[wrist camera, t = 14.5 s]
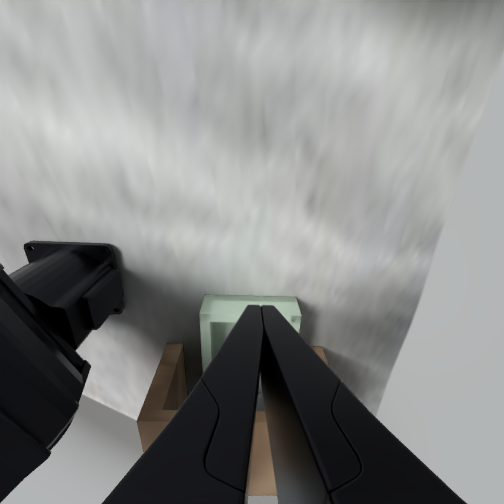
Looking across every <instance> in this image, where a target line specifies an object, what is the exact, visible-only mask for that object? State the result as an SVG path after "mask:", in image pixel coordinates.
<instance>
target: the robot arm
mask: <svg viewBox="0 0 504 504" xmlns="http://www.w3.org/2000/svg"><path fill="white" fill-rule="evenodd" d="M31 246H32V247H33V248H34V249H33V248H32V247H31ZM104 249H106V250H107V251H108V252H105V251H104ZM24 250H25V253H26V256H27V259H28V262H29V264H27V265H25V266H23V267H22V268H20V269H18V270H16V271H15V272H13V273H11V274H9V275H7V274H6V272H5V271H4V270H3V269H4V267H3V266H2V265H1V264H0V503H1V502H2V501H3V499H5V497H7V496H8V494H9V493H10V492H11V491H12V490H13V489H14V488H15V487H16V486H17V485H18V484H19V483H20V482H21V481H22V480H23V479H24V478H25V477H27V476H28V475H29V474H30V473H31V472H32V471H34V470H35V469H36V468H37V467H38V466H40V465H41V464H42V463H43V462H44V461H45V460H47V459H48V457H49V456H50V454H51V451H50V450H51V449H52V448H53V447H54V446H55V445H56V444H57V443H58V441H59V440H60V439H61V438H62V436H63V435H64V434H65V432H66V431H67V429H68V427H69V426H70V424H71V422H72V420H73V418H74V415H75V414H76V412H77V410H78V407H79V400H80V398H81V395H82V392H83V389H84V386H85V383H86V380H87V377H88V374H89V371H90V368H91V365H90V364H89V363H88V362H87V361H86V360H83V359H82V358H81V357H80V355H79V354H78V353H77V352H76V351H75V350H77V349H78V347H79V346H80V345H81V344H82V342H83V341H84V340H85V339H86V337H87V336H88V335H89V334H90V332H91V331H92V330H97V329H98V328H100V327H101V325H102V324H103V323H104V321H105V320H106V319H107V318H108V316H109V315H110V314H121V313H122V312H123V310H124V302H123V297H124V293H123V288H122V282H121V277H120V272H119V270H118V269H117V266H116V260H115V255H114V250H113V247H112V246H111V245H109V244H106V243H79V242H52V241H30V242H28V243H26V244H24ZM116 307H117V308H119V309H117V308H116ZM260 378H261V387H262V394H263V401H264V407H265V414H266V421H267V428H268V435H269V442H270V449H271V456H272V463H273V469H274V476H275V483H276V490H277V497H278V504H467V503H466V502H465V501H463V500H462V499H461V498H460V497H459V496H458V495H457V494H456V493H454V492H453V491H452V490H451V489H450V488H449V487H448V486H447V485H446V484H445V483H444V482H443V481H442V480H441V479H440V478H439V477H438V476H436V475H435V474H434V473H433V472H432V471H431V470H430V469H429V468H428V467H427V466H426V465H425V464H424V463H423V462H422V461H420V459H418V458H417V457H416V456H415V455H414V454H413V453H412V452H411V451H410V450H409V449H408V448H407V447H406V446H405V445H404V444H402V443H401V442H400V441H399V440H398V439H397V438H396V437H395V436H394V435H393V434H392V433H391V432H390V431H389V430H388V429H387V428H386V427H385V426H384V425H383V424H382V423H380V421H379V420H378V419H377V418H376V417H375V416H374V415H373V414H372V413H371V412H370V411H369V410H368V409H367V408H366V407H365V406H364V405H363V404H362V403H361V402H360V401H359V400H358V399H357V397H356V396H355V395H354V394H353V393H352V392H351V391H350V390H349V389H348V388H347V386H346V385H345V384H344V383H343V382H341V380H340V379H339V378H338V377H337V375H336V374H335V373H334V372H333V371H332V370H331V369H330V368H329V366H328V365H327V364H326V363H325V362H324V361H323V360H322V359H321V358H320V356H319V355H318V354H317V353H316V352H315V351H314V350H313V349H312V347H311V346H310V345H309V344H308V343H307V342H306V341H305V340H304V338H303V337H302V336H301V335H300V334H299V333H298V332H297V331H296V330H295V328H294V327H293V326H292V325H291V324H290V323H289V322H288V321H287V319H286V318H285V317H284V316H283V315H282V314H281V313H280V312H279V310H278V309H277V308H276V307H275V306H274V305H262V306H260V305H252V304H249V305H247V307H246V308H245V310H244V311H243V313H242V314H241V316H240V317H239V319H238V320H237V322H236V323H235V325H234V327H233V328H232V330H231V331H230V333H229V334H228V336H227V337H226V339H225V340H224V342H223V344H222V345H221V347H220V348H219V350H218V351H217V353H216V354H215V356H214V357H213V359H212V360H211V362H210V364H209V365H208V367H207V368H206V370H205V371H204V373H203V374H202V376H201V377H200V380H198V382H197V383H196V385H195V386H194V388H193V390H192V391H191V393H190V394H189V395H188V397H187V398H186V400H185V401H184V403H183V404H182V406H181V407H180V408H179V410H178V411H177V412H176V414H175V415H174V416H173V418H172V419H171V420H170V421H169V423H168V424H167V425H166V426H165V428H164V429H163V430H162V432H161V433H160V434H159V435H158V436H157V438H156V439H155V440H154V441H153V443H152V444H151V445H150V446H149V447H148V449H147V450H146V451H145V452H144V453H143V455H142V456H141V457H140V458H139V459H138V461H137V462H136V463H135V464H134V466H133V467H132V468H131V469H130V470H129V472H128V473H127V474H126V475H125V476H124V478H123V479H122V480H121V481H120V482H119V484H118V485H117V486H116V487H115V489H114V490H113V491H112V492H111V493H110V495H109V496H108V497H107V498H106V499H105V500H104V502H103V503H102V504H248V494H249V484H250V473H251V463H252V453H253V443H254V433H255V423H256V413H257V402H258V392H259V382H260ZM340 382H341V383H340Z"/></svg>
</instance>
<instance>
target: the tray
mask: <svg viewBox="0 0 504 504" xmlns="http://www.w3.org/2000/svg"><path fill="white" fill-rule="evenodd" d="M249 304H252V305H260V306H262V305H274V306H275V307H276V308H277V309H278V310H279V312H280V313H281V314H282V315H283V316H284V317H285V318H286V319H287V321H288V322H289V323H290V324H291V325H292V326H293V327H294V328H295V330H296V331H297V332H298V333H299V329H300V322H301V313H300V309H299V306H298V303H297V300H296V297H279V296H235V295H204V299H203V302H202V306H201V310H200V332H201V350H202V368H203V373H204V371H205V370H206V368H207V367H208V365H209V364H210V362H211V360H212V359H213V357H214V356H215V354H216V353H217V351H218V350H219V348H220V347H221V345H222V344H223V342H224V340H225V339H226V337H227V336H228V334H229V333H230V331H231V330H232V328H233V327H234V325H235V323H236V322H237V320H238V319H239V317H240V316H241V314H242V313H243V311H244V310H245V308H246V307H247V305H249Z"/></svg>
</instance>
